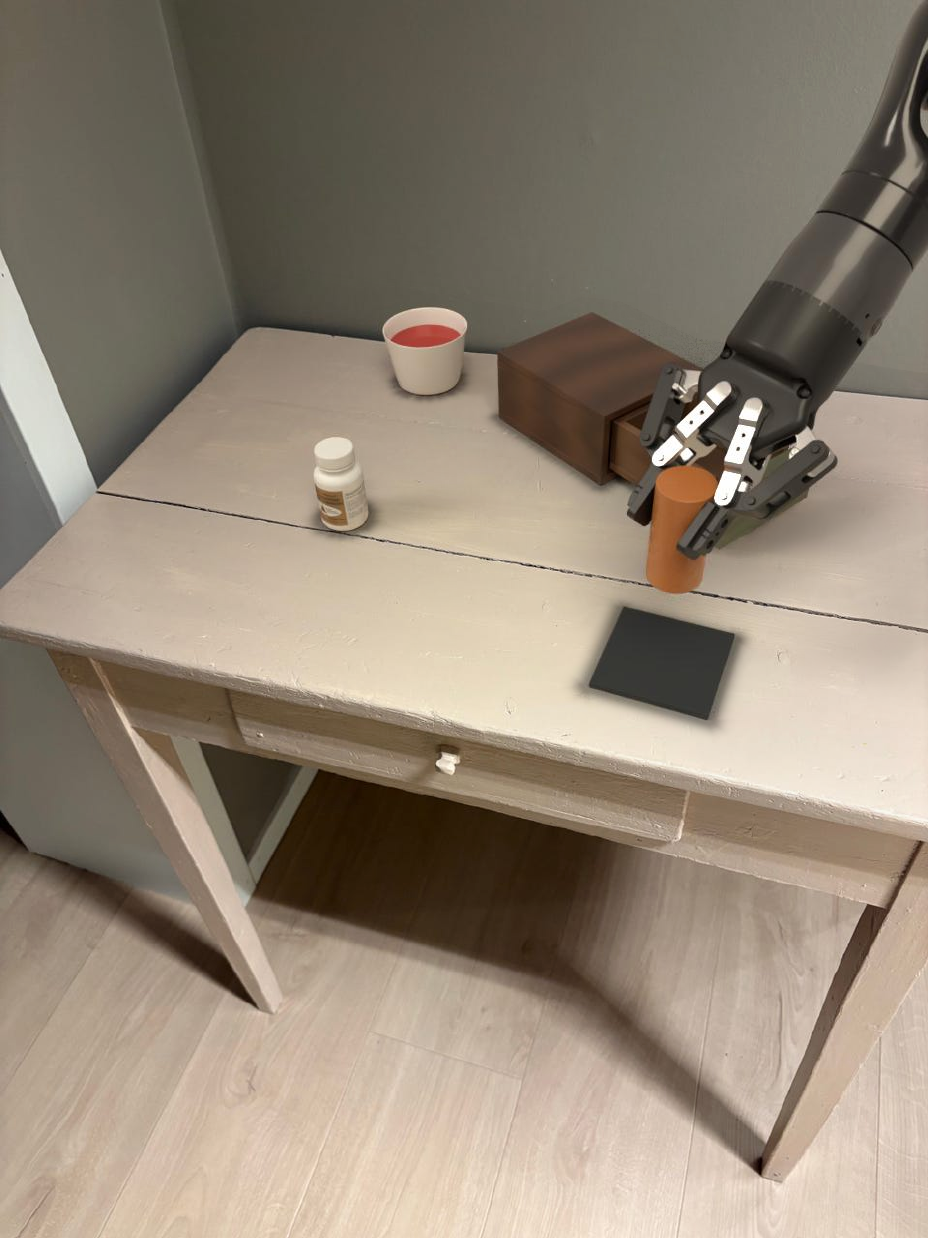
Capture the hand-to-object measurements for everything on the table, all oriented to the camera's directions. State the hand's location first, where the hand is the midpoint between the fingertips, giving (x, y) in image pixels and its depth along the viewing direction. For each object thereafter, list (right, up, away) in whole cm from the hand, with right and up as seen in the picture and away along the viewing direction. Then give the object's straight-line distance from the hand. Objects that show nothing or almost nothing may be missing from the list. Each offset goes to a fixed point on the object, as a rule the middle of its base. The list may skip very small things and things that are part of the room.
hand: (660, 536), depth 64 cm
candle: (-17, +21, +42) cm, 50 cm away
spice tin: (+2, -2, +4) cm, 5 cm away
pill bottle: (-24, +4, +25) cm, 35 cm away
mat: (+2, -9, +10) cm, 14 cm away
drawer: (+9, +7, +24) cm, 27 cm away
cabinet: (0, +14, +34) cm, 37 cm away
